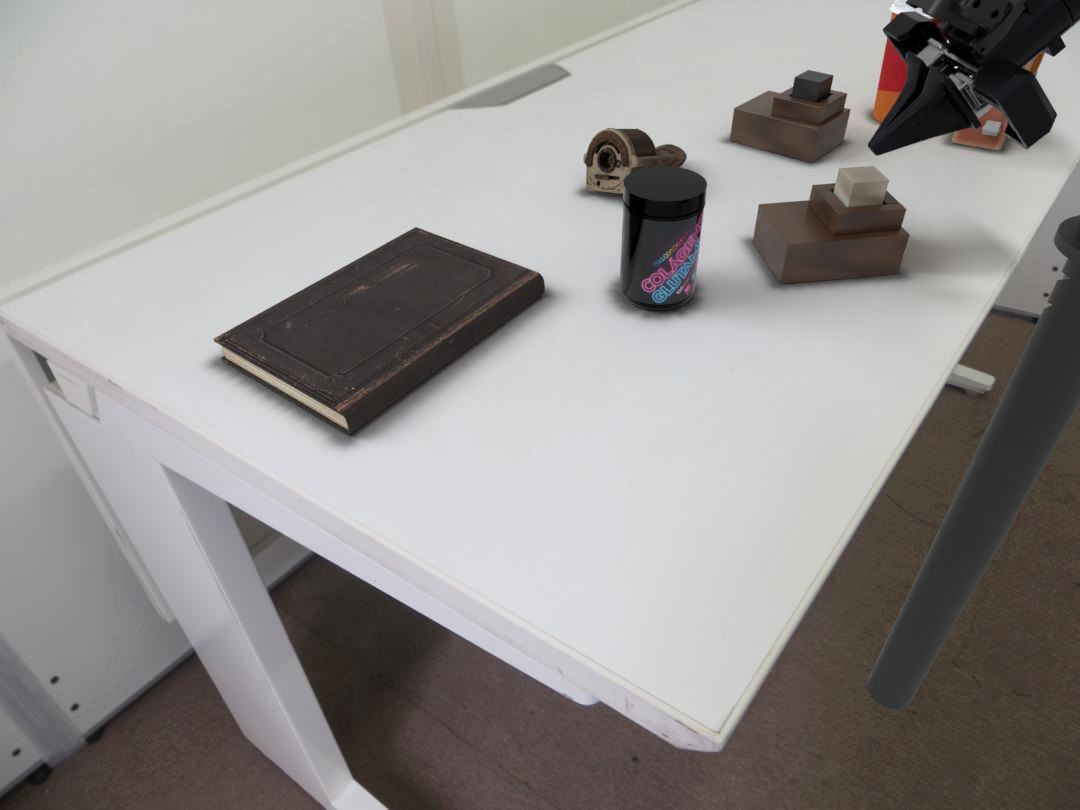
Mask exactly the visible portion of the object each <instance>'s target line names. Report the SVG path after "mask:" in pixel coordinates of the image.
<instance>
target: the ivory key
mask: <svg viewBox="0 0 1080 810" xmlns="http://www.w3.org/2000/svg"><path fill="white" fill-rule="evenodd" d="M889 182H890V180H889V179H888V178H887V177H886V176H885V175H884V174H883V173H882V172H881V171H880V170H879V169H878V168H876V166H874V165H864V166H851V167H850V166H849V167H840V168H838V171H837V176H836V181H835V183H836V184H835V189H834V195H835V196H836V197H837V198H838V199H839V200H840V201H841V202H842V203H843V204H844V206H845V207H846V208H847V207H860V206H873V205H882V204H883V201H884V197H885V193H886V190H887V191H888V185H889Z"/></svg>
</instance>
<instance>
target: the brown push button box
mask: <svg viewBox="0 0 1080 810" xmlns="http://www.w3.org/2000/svg"><path fill="white" fill-rule="evenodd" d="M835 184H836V182H832V183H817V184H812V185H811V190H810V195H809V199H807V200H795V201H793V200H792V201H782V202H769V203H768V202H767V203H759V204H758V206H757V207H758V208H757V213H756V220H755V224H754V225H755V226H754V231H753V237H752V243H753V244H754V246H755V248H756V249H757V251H758V252H759V254H760V255H761V257H762V258H763V261H764V262H765V264H767V266H768V267H769V269H770V271H771V272H772V274H773V275H774V277H775V279H776V280H777V281H778V283H779V284H780V285H785V284H797V283H808V282H820V281H832V280H833V281H835V280H845V279H856V278H868V277H880V276H881V277H882V276H892V275H898V274H899V272H900V268H901V265H902V262H903V259H904V256H905V252H906V249H907V246H908V244H909V243H908V242H909V240H910V236H911V234H910V233H909V232H908V231H907V229H905V228H904V227H903V226H902V225H903V222H904V220H905V215H906V212H907V208H906V207H905V206H904V205H903V204H902V203H900V201H898V200H897V199H896V198H895V197H894V196H893V195H892V194H891V193H890V192H889V191H888V189H887V190H886V193H885V197H884V201H883V204H882V205H873V206H860V207H847V208H846V207H845V206H844V204H843V203H842V202H841V201H840V200H839V199H838V198H837V197H836V196H835V195H834V189H835Z"/></svg>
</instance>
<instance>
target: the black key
mask: <svg viewBox="0 0 1080 810" xmlns="http://www.w3.org/2000/svg"><path fill="white" fill-rule="evenodd" d="M833 82H834V74H831V73H825V72H820V71H815V70H810V69H808V70H805V71H804V72H801V73H799V74H798V75H795V76H794V79H793V85H792V87H793V90H792V96H791V97H794V98H799V99H803V100H807V101H812V102H816V103H818V102H820V101H822V100H824V99H826V98H827V97H829V96H830V91H831V90H832V85H833Z"/></svg>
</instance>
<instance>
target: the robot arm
mask: <svg viewBox="0 0 1080 810" xmlns="http://www.w3.org/2000/svg"><path fill="white" fill-rule="evenodd" d="M905 3H906V4H907V5H909V6H911V7H913V8H915V9H916V8H921V9H922V12H923V13H925V14H927V15H929V16H930V17H932V18H934V19H936V20H938V21H940V22H941V23H940V24H939V25H938V26H937V25H936V24H935V22H934V21H933V20H931V19H929V18H927V17H925V16H923V15H921V14H919V13H917V12H916V11H910V12H900V13H899V14H898V15H897V16H896V17H895V18H894V19H893V20H892V21H891V20H890V21H891V22H890V21H889V22H888V23H887V24H886V25H885V26H884V27H883V28H882V32H883V34H884V35H885V36H886V39H887V38H888V39H889V41H890V42H891V44H892V45H893V47H894V48H895V49H896V51H897V52H898V54H899V55H900V57H901V58H902V59H903V61H904V62H905V64H906V65H907V67H908V70H907V79H906V83H905V86H904V87H903V89H902V91H901V93H900V95H899V96H898V98H897V100H896V101H895V103H894V105H893V106H892V108H891V109H890V111H889V112H888V114H887V115H886V117H885V118H884V120H883V121H882V122H880V124H879V126H878V128H877V129H876V130H875V132H874V134H873V136H871V138H870V140H869V141H868V143H867V148H868V149H869V150H870V152H871V153H872V154H873V155H874V156H875V157H877V156H878V157H879V156H881V155H884V154H887V153H891V152H894V151H897V150H899V149H903V148H905V147H908V146H911V145H914V144H917V143H921V142H924V141H927V140H931V139H933V138H936V137H941V136H944V135H948V134H952V133H954V132H956V131H959V130H963V129H967V128H973V129H975V130H976V129H978V128H980V127H981V126H982V124H981V123H980V121H979V120H978V119H979V118H980V117H982V116H983V115H984V114H985V113H986V112H988V111H989V110H990V109H991V108H993V107H994V108H996V109H997V110H999V111H1001V112H1002V113H1004V114H1003V115H1004V117H1005V118H1006V120H1007V121H1008V124H1007V127H1006V130H1005V134H1006V135H1007V137H1006V138H1008V139H1009V140H1011V141H1013V142H1014V143H1015V144H1017V145H1019V147H1021V148H1023V149H1025V150H1026V151H1027V150H1029V149H1030V148H1032V147H1033V146H1034V145H1035V144H1036V143H1038V142H1039V141H1041V140H1042V139H1043V138H1044V137H1046V136H1047V135H1048V134H1050V133H1051V132H1052V129H1053V126H1054V124H1055V121H1056V119H1057V116H1058V113H1057V111H1056V110H1055V108H1054V106H1053V105H1052V103H1051V101H1050V99H1049V98H1048V96H1047V94H1046V92H1045V91H1044V88H1043V87H1042V85H1041V84H1040V82H1039V80H1038V79H1037V76H1036V77H1035V75H1034V73H1032V72H1030V71H1028V70H1026V69H1024V67H1025V66H1026V65H1027V64H1028V63H1030V62H1031V61H1032V60H1033V59H1034V58H1036V57H1037V56H1038V55H1039V54H1041V53H1042V52H1044V53H1045V54H1047V55H1049V56H1051V57H1053V58H1054V57H1056V56H1057V55H1058V54H1059V53H1060V52H1062V51H1063V50H1064V49H1066V48H1067V46H1066V44H1065V42H1064V39H1063V38H1062V36H1064V35H1065V34H1066V33H1068V31H1069V30H1071V29H1072V28H1073V27H1075V25H1077V24H1078V23H1079V22H1080V0H907V1H906V2H905ZM938 28H939V29H938ZM940 31H941V32H940ZM942 34H943V35H942ZM944 37H946V38H947V39H948V40H947V41H946V39H945V38H944ZM1079 223H1080V222H1079Z"/></svg>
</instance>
